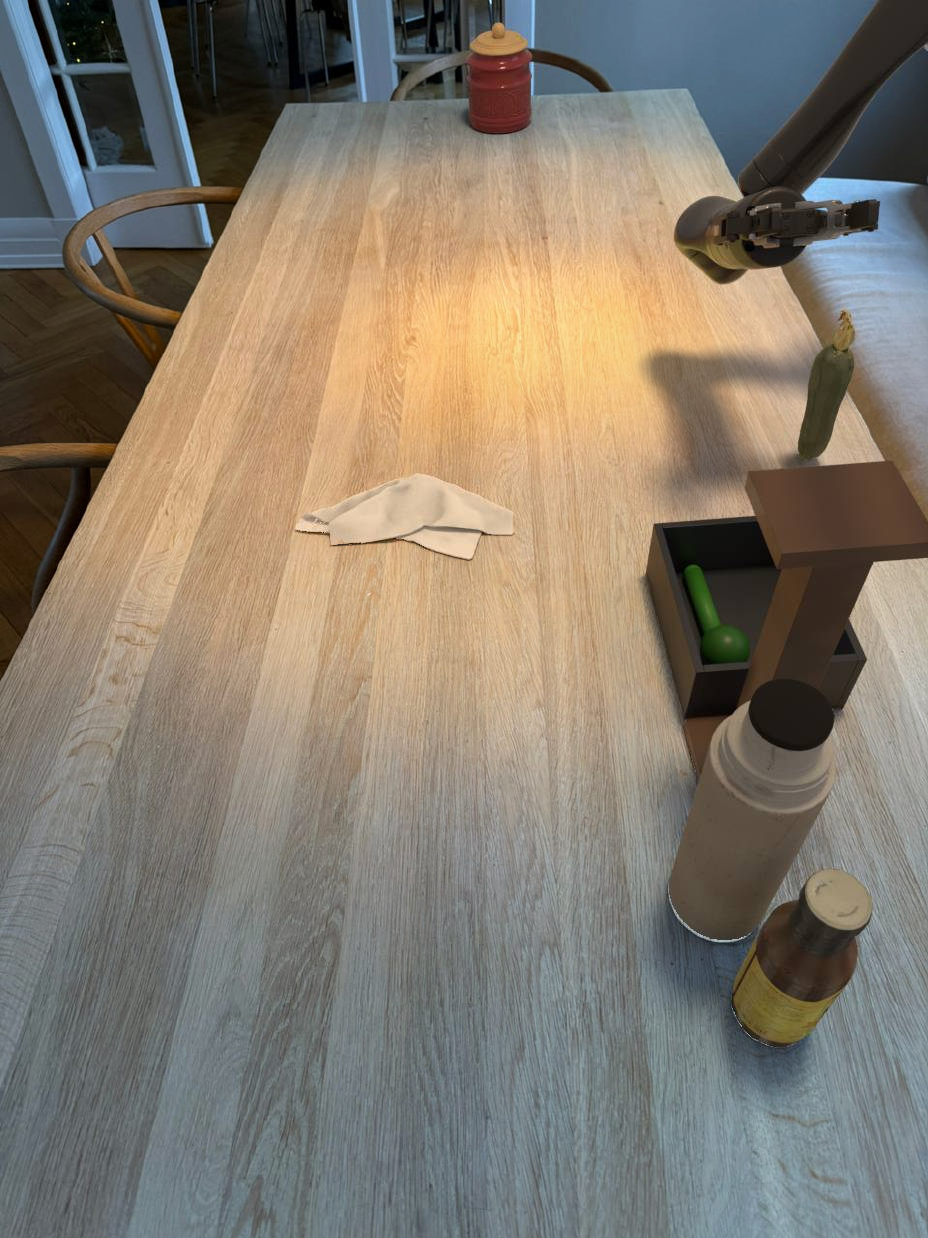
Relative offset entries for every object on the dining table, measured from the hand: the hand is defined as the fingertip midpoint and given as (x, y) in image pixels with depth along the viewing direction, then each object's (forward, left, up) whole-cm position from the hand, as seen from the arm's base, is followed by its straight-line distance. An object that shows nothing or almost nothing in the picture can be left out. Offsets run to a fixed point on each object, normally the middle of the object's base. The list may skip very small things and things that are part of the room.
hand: (824, 216), depth 78 cm
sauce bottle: (+13, +55, -35) cm, 67 cm away
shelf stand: (+9, +33, -35) cm, 49 cm away
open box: (+6, +19, -35) cm, 40 cm away
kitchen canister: (+19, -120, -35) cm, 127 cm away
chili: (+9, +19, -34) cm, 40 cm away
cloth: (+40, -4, -35) cm, 53 cm away
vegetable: (-9, -8, -35) cm, 37 cm away
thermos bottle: (+15, +46, -35) cm, 60 cm away
